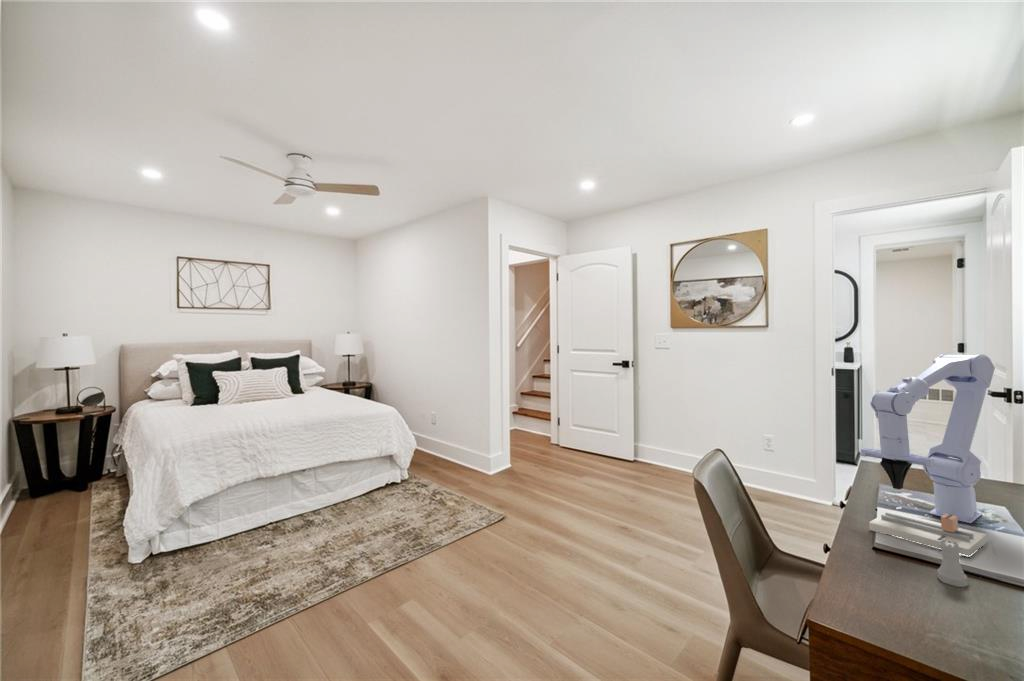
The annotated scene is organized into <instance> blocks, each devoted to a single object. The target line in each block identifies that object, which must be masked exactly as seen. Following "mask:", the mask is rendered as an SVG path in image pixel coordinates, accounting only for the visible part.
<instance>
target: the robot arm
mask: <svg viewBox="0 0 1024 681" xmlns="http://www.w3.org/2000/svg"><path fill="white" fill-rule="evenodd" d="M995 370H996V367H995V365H994V364H993V362H992V359H990V357H989V356H987V355H986V354H983V353H982V354H948V353H942V354H940V355H938V356H937V357H935V358H933V360H932V364H931V365H930V366H929V367H927V369H925V370H924V371H923V372H921V373H920V374H919V375H918V376H917V377H916V376H909V377H907V376H905V377H903V378H902V380H901V381H900V382H898V383H896V384H895V385H894V386H891V387H890V388H889V389H888V390H886V391H878V392H876V393H875V394H874V395H873V396H872V398H871V401H870V406H871V408H872V410H873V411H874V414H875V417H876V419H877V421H878V433H879V447H880V449H875V448H866V447H863V448H861V449H860V456H861V457H866V458H869V457H870V458H875V459H876V458H877V459H881V461H879V463H880V466H881V467H882V468H883V470H884V471H885V472H886V474H887V477H888V478H889V480H890V482H891V485H892V489H896V490H898V491H899V490H902V489H903V488H904V484H905V483H904V482H905V479H906V476H907V474H908V471H909V470H910V468H911V467H912V466H913V465H919V466H922V468H923V470H924V472H925V474H926V475H928V476H929V479H930V480H932V482H933V484H932V485H933V495H934V497H933V498H934V504H935V505H934V506H935V507H934V508H933V509H932V510H930V511H929V514H930V515H933V516H936V517H937V516H938V517H941V516H943V515H944V514H953V515H954V516H957V519H958V522H962V523H967V524H972V523H973V522H974V521H975V520H977V519H978V518H980V517H981V516H982V515H983V512H981V511H978V509H977V498H976V490H975V488H974V486H976V484H977V483H978V482H979V481H980V479H981V477H982V476H981V475H982V472H981V463H982V460H980V459H979V457H977V455H975V454H974V453H973V452H972V451H971V447H972V444H973V440H974V437H975V433H976V429H977V427H978V422H979V419H980V415H981V411H982V408H983V404H984V400H985V397H986V393H987V389H989V388H990V387H991V383H992V380H993V376H994V372H995ZM942 381H945V382H946V383H947V384H948V385H950V386H951V387H954V389H955V390H956V392H955V396H954V400H953V403H952V407H951V411H950V414H949V418H948V421H947V425H946V428H945V431H944V432H945V433H944V436H943V439H942V442H941V443H940V444H937V445H935V446H933V447H931V448H929V452H928V453H927V455H926V456H922V455H919V454H913V453H911V452H910V440H909V429H908V427H909V426H908V418H907V416H908V414H910V413H911V412H912V410H913V406H914V405H915V404H916V403H917V402H918V401H919V400H921V399H923V398H924V397H925V396H927V395H928V394H929V393H930V387H932V386H934V385H936V384H938V383H940V382H942Z"/></svg>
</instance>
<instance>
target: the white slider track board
mask: <svg viewBox="0 0 1024 681" xmlns="http://www.w3.org/2000/svg"><path fill="white" fill-rule="evenodd" d="M868 523H869V525H868V526H869V531H873V532H875V533H879V532H882V533H885V534H884V535H886V534H890V535H894V536H898V537H902V538H904V539H908V540H911V541H915V542H919V543H922V544H926V545H930V546H934V547H937V548H940V547H939V544H940V543H941V541H942V540H946V542H948V540H951V543H953V542H956V543H957V544H958V546H959V547H960V548H961V551H960V552H959V553H961V554H965V555H968V556H969V555H971V554H972V553H974V552H975V551H976V550H978V549H979V548H980V549H982V548H983V547H984V546H985V545H986V544H987V543H988V541H987V534H986V533H982V532H978V531H975V530H974V531H973V530H970V529H967V528H962V527H958V530H956V531H955V532H954V533H953V532H949V531H945V530H942V527H941V522H938V521H932V520H929V519H925V518H921V517H917V516H913V515H909V514H905V513H901V512H897V511H891V510H888V511H886V512H884V513H883V514H881V515H879V516H878V517H876V518H874V519H872V520H870V521H869V522H868ZM882 533H881V534H882ZM982 546H983V547H982ZM981 547H982V548H981ZM980 549H979V550H980ZM979 550H978V551H979Z"/></svg>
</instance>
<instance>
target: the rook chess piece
mask: <svg viewBox="0 0 1024 681" xmlns="http://www.w3.org/2000/svg"><path fill="white" fill-rule="evenodd" d="M939 547H940V548H941V549H942V551H940V554H941V556H942V559H941V564H940V565H939V568H938V569H937V578H938V579H939V580H940V581H941V582H942V583H944V584H946V585H949V586H952V587H958V588H965V587H968V585H969V581H968V575H966V574H965V572H964V570H963V569H962V568H963V567H961V566H962V565H961V562H960V558H961V556H960V555H959V552H960V551H961V548H960V547H959V546H958V544H957V543H956V542H953V543H951V540H948V542H946V540H942V541H941V543H940V544H939Z"/></svg>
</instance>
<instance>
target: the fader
mask: <svg viewBox="0 0 1024 681" xmlns="http://www.w3.org/2000/svg"><path fill="white" fill-rule="evenodd" d="M940 523H941V527H942V530H945V531H949V532H953V533H954V532H955V531H956V530H958V528H959V521H958V519H957V516H954V515H953V514H944V515H943V516H940Z"/></svg>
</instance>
